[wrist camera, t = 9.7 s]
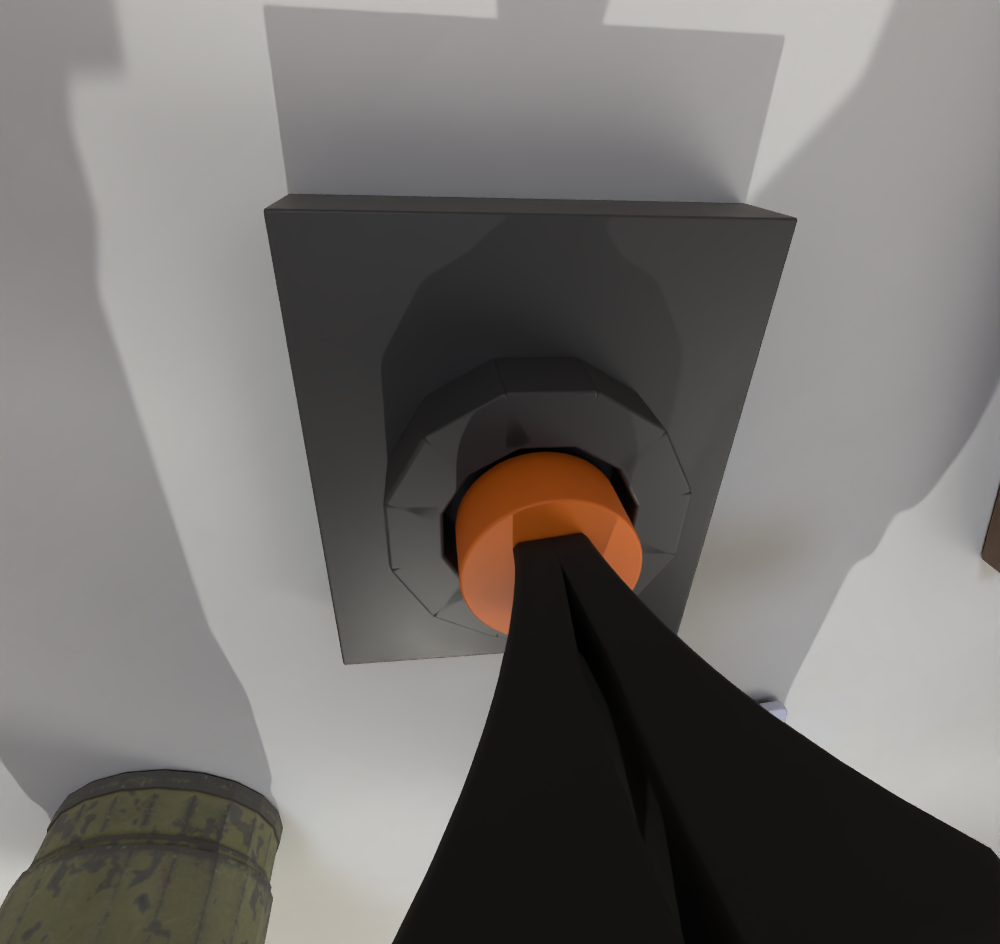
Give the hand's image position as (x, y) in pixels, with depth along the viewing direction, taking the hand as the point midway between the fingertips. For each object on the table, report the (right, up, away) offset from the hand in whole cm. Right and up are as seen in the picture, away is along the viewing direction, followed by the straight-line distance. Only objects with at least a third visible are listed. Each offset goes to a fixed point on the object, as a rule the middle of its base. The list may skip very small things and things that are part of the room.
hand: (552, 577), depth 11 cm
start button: (0, +1, +2) cm, 2 cm away
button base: (-1, +3, +5) cm, 5 cm away
